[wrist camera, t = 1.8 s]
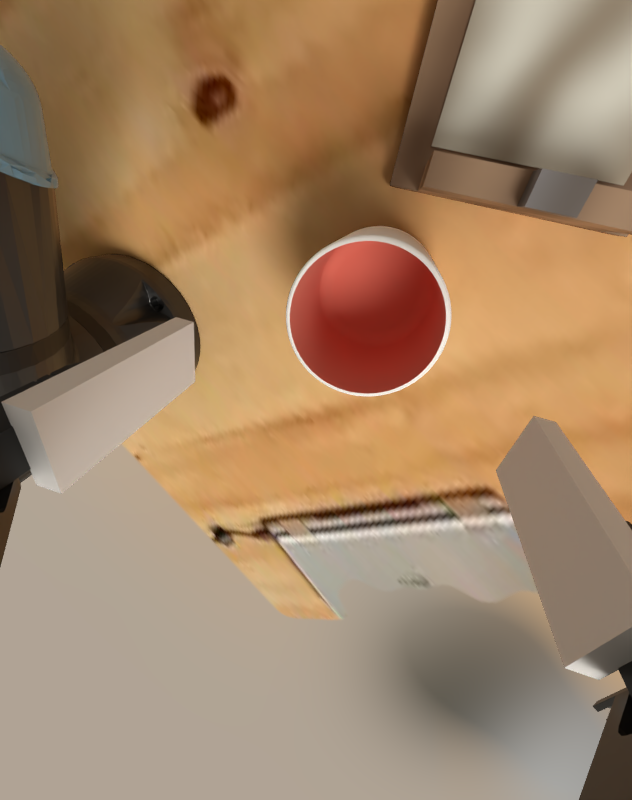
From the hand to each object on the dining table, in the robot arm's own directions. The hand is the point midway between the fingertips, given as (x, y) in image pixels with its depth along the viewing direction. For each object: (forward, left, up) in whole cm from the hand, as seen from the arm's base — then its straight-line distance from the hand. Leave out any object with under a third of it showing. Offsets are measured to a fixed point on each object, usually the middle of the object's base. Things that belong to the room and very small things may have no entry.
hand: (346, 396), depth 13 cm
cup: (0, 0, -19) cm, 19 cm away
